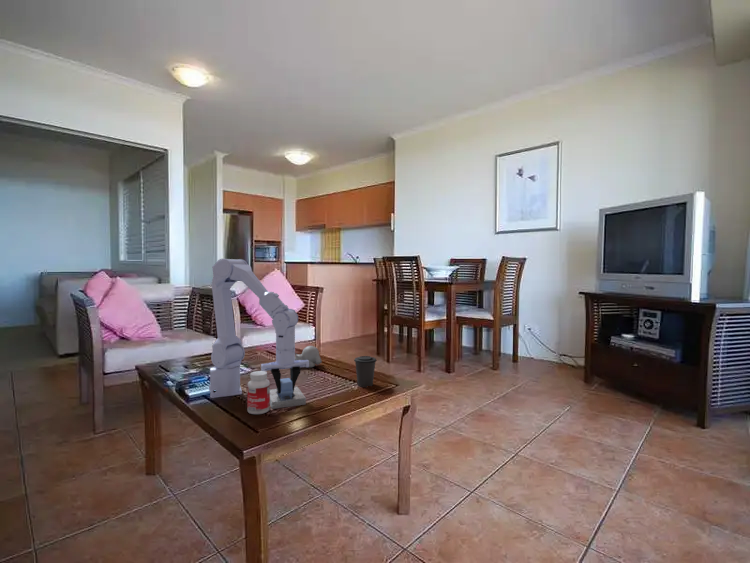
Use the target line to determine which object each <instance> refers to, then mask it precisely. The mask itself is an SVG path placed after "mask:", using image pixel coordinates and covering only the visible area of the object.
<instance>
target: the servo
mask: <svg viewBox="0 0 750 563" xmlns="http://www.w3.org/2000/svg"><path fill="white" fill-rule="evenodd" d="M280 387H281V393H280V394H279V396H280V397H279V398H284V400H286V399H292V393H293V390H292V381H291V378H290V377H287V378H285V377H284V378H280Z"/></svg>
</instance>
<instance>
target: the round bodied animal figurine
mask: <svg viewBox="0 0 750 563" xmlns="http://www.w3.org/2000/svg"><path fill="white" fill-rule="evenodd" d="M295 360H308V361H309V367H308V368H310V369H312V368H314V367H315V366H316V365H317V366H318V365H320V364H322V363H323V362H322V361H323V360H322V358H321V355H320V351H319V349H318V348H317V347H316V346H313V345H307V346H305V347H304V348H303V350H302V352H301V354H300V353H299V354H298V353H295Z"/></svg>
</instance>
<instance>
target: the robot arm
mask: <svg viewBox="0 0 750 563" xmlns="http://www.w3.org/2000/svg"><path fill="white" fill-rule="evenodd" d="M212 274H213V275H212V276H213V277H212V280H211V291H212V293H211V294H212V300H213V301H212V302H213V309H214V317H215V326H216V334H217V338H216V340H215V341H214V342H213V343H212V346H211V347H212V348H211V349H212V351H211V356H210V360H211V363H212V364H213V366H214V367H213V366H212V367H210V368H209V373H210V374H209V377H210V378H209V380H210V381H209V383H210V384H209V385H208V390H209V394H210V395H209V396H210V398H211V399H215V398H223V397H232V396H240V395H242V394H243V390H242V387H241V364H242V360H244V358H245V354H246V351H245V348H244V347H243V344H242V340H241V338H240V337H238V336H237V335H236V328H235V319H234V312H233V311H234V310H233V302H232V295H231V294H232V292H231V288H232V287H233V286H234V285H235V284H236V283H237V282H242V283H243V284H244V285H245V286H246V287H247V288H248V289H249V290H250V291H251V292H252V293H253V294H254V295H256V297H257V298H258V299H259V302H258V304H259V306H261V308H262V309H263V310H264V311H265V312H266V314H268V316H269V317H270V318H271V319H272V320H271V323H272V326H273V327H274V329H275V361H272V362H266V363H261V364H260V371H265V372H268V371H270V372H271V375H272V377H273V379H274V382H275V386H276V389H277V392H278V394H280V393H281V387H280V379H282V377H281V376H282V374H281V370H288V369H289V373H290V374H289V375H290V376H289V378H290V379H291V381H292V390H293V392H294V387H296V383H297V380H298V377H300V376H299V375H300V374H301V372H302V370H301V368H310V367H309V361H308V360H295V357H296V356H295V355H296V339H295V338H296V330H295V329H296V325H297V324H298V322H299V315H298V313H297V311H296V309H293V308H289V306H288V305H286V304H285V303H284V302H283V301H282V300H281V299H280V297H279V296H280V295H279V294H278V293H277V292H274V291H268V289H267V288H266V287H265V286H264V284H263V283H262V282H261V281H260V279H259V278H258V277H257V275H255V273H254V272H253V269H252V266H251V265H250V264H248V262H247V261H246V260H244V259H242V258H239V259H238V258H237V259H233V258H231V259H230V258H219V259H218V260H216V262H215V263H214V264H213V266H212ZM214 390H216V391H214Z"/></svg>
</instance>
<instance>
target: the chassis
mask: <svg viewBox="0 0 750 563" xmlns="http://www.w3.org/2000/svg"><path fill="white" fill-rule="evenodd" d="M306 401H307V398H306V396H305V395H304V393H303V392H302V391H301V389H300V388H299V387H298V385H297V386H296V385H295V387H294V392H293V393H292V398H291V399H286V400H285V399H284V398H280V396H279V394H278V392H277V388H273V389H271V388H270V408H271V410H276V409H282V408H289V407H296V406H301V405H302V406H305V405H307V402H306Z"/></svg>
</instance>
